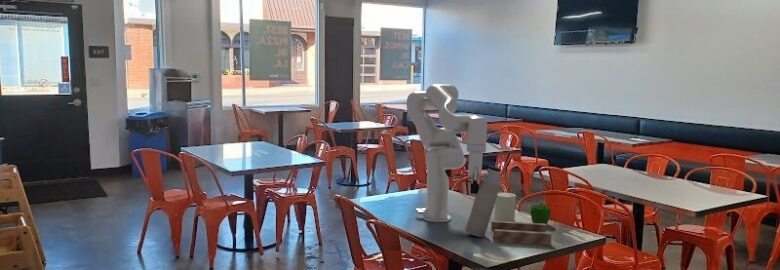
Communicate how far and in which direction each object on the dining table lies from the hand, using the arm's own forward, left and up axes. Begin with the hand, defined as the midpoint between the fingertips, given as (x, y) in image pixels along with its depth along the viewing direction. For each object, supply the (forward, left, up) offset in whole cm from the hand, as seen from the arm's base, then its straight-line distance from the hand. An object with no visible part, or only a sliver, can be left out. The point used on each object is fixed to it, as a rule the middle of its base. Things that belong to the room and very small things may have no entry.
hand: (474, 193), depth 237 cm
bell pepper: (+30, +24, -18) cm, 42 cm away
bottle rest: (+19, 0, -17) cm, 26 cm away
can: (+15, +27, -18) cm, 36 cm away
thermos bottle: (+1, 0, -17) cm, 17 cm away
